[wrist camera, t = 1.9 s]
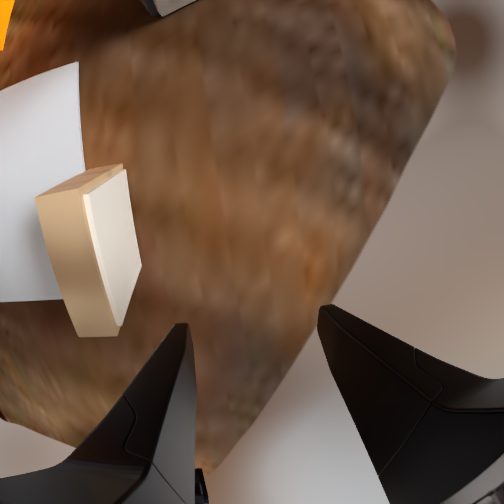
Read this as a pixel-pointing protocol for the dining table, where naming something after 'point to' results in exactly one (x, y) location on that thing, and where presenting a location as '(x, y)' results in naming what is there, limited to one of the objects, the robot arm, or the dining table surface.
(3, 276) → the mat
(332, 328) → the robot arm
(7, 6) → the orange juice
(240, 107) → the dining table surface
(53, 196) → the tile
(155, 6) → the charcoal upright rounded slab
